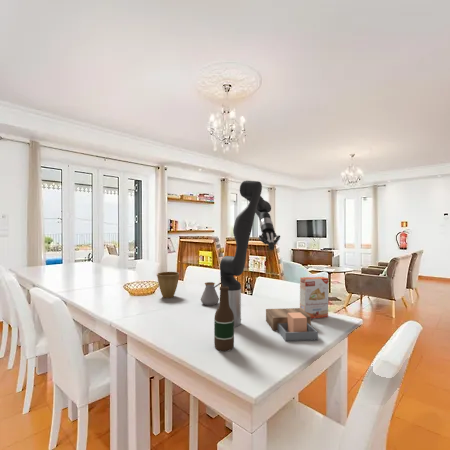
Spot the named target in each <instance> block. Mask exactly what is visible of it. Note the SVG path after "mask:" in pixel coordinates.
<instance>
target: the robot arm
mask: <svg viewBox="0 0 450 450" xmlns="http://www.w3.org/2000/svg"><path fill="white" fill-rule="evenodd" d="M262 190H263V184H262V183H261V182H260V181H259V180H258V181H256V180H243V181H242V182H240V185H239V195H240V196H241V197H242V198H244V199H245V200H247V201H248V202H249V203H248V205H247V206H245V207H244V209H242V211H241V212H239V214H238V215H237V216H236V217H235V221H234V223H233V227H232V233H233V236H234V242H235V243H236V249H235V254H234V256H232V255H226V256H223V257H222V258H221V261H220V265H219V266H220V267H219V271H220V272H219V274H220V275H219V276H220V282H221V284H220V285H221V286H227V287H229V290H228V294H229V306H230V308H231V310H232V312H233V314H234V328H235V327H238V326H240V325H241V323H242V284H241V283H240V282H239V280H237V279H236V278H235V277H236V276H237V277H238V276H241V275H242V274H243V272H244V270H245V266H246V262H247V261H246V259H247V253H248V252H247V251H248V246H249V241H250V237H251V232H252V230H253V227H254V226H253V225H254V221H255V215H257V217H258V220H259V224H260V225H259V226H260V230H261V231H260V232H261V234H259V235H258V240H259V241H260V242H262V243H263V244H264V245H267V246H268V249H269V251H273V250H275V245H276V244H277V243H278V242H279V240H280V239H281V235H279V234H277V233H276V232H275V228H274V224H273V221H272V218H271V217H272V216H271V214H270V213H271V211H272V205H271V204H270V203H269V201H267V200H265V199H264V197H263V196H262V195H261V194H262Z"/></svg>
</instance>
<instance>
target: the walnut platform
mask: <svg viewBox="0 0 450 450" xmlns="http://www.w3.org/2000/svg"><path fill="white" fill-rule="evenodd" d="M297 312H300V313H302V314H303V315H304V316H305V317H306V318H307V323H308V324H309V325H311V326H312V319H311V316H310V315H308V314H307V313H306V312H305V311H303V310H302V309H301V308H300V307H296V308H295V307H294V308H293V307H292V308H266V309H265V321H266V323H267V325H268V326H269V327H270V329H271V330H272V331H277V332H278V323H288V313H297Z"/></svg>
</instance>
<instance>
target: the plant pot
mask: <svg viewBox="0 0 450 450" xmlns="http://www.w3.org/2000/svg"><path fill="white" fill-rule="evenodd" d="M156 276H157V282H158V286H159V290H160V294H161V295H162V298H163V299H171V298H174V296H175V294H176V291H177V287H178V283H179V277H180V273H179V272H177V271H163V272H161V271H160V272H158V273H156Z"/></svg>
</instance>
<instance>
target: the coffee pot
mask: <svg viewBox="0 0 450 450" xmlns="http://www.w3.org/2000/svg"><path fill="white" fill-rule="evenodd" d="M204 285H205V287H204V289H203V290H204V291H203V292H202V295H201V297H200V302H201V303H202V304H203V305H204V306H215V305H216V304H217V303H219V302H220V297H219V295H218V293H217V290H216V288H217V287H218V286H220V285H222V284H221V281H220V282H219V283H218V284H216V283H215V282H212V281H209V282H208V281H207V282H205V283H204Z"/></svg>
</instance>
